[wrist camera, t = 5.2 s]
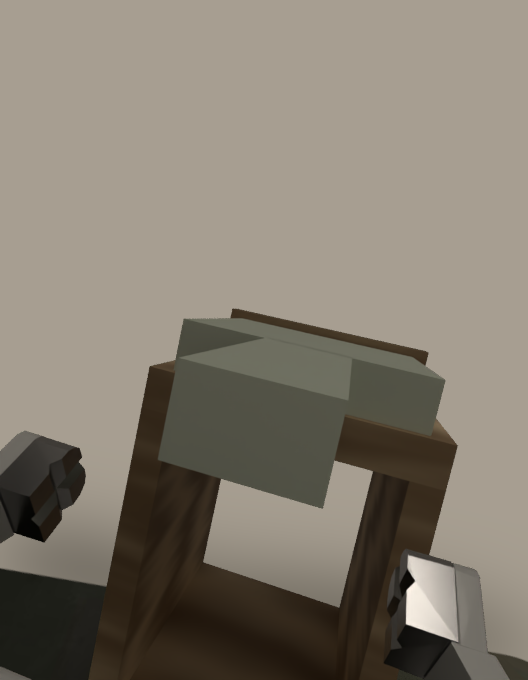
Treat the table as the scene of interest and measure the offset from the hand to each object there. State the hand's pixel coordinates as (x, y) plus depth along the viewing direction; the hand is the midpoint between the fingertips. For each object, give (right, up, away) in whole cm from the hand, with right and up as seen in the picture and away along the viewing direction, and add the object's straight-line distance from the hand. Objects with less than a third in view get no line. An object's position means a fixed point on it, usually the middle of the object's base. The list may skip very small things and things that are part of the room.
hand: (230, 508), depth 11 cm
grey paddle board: (+2, +1, +10) cm, 11 cm away
